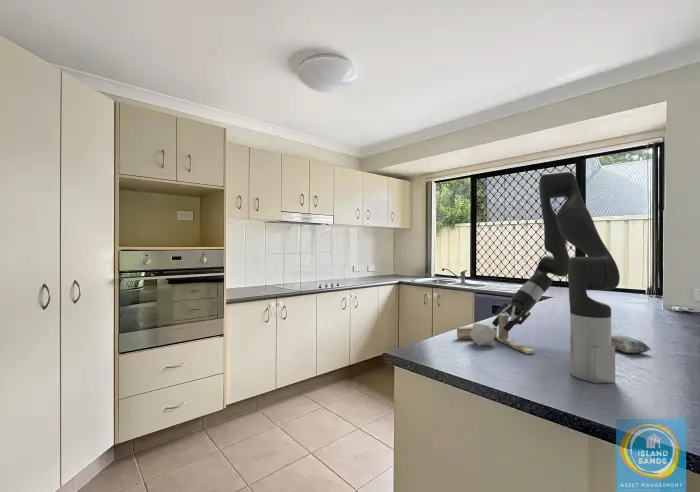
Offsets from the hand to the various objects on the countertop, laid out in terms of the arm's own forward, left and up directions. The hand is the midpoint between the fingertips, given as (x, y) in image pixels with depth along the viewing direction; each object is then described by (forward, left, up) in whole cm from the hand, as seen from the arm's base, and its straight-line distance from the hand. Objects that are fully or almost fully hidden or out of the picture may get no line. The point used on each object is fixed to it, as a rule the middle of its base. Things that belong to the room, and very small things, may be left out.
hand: (499, 327), depth 125 cm
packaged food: (-16, -36, -6) cm, 40 cm away
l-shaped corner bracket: (-4, +5, -5) cm, 9 cm away
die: (-2, +8, -6) cm, 10 cm away
